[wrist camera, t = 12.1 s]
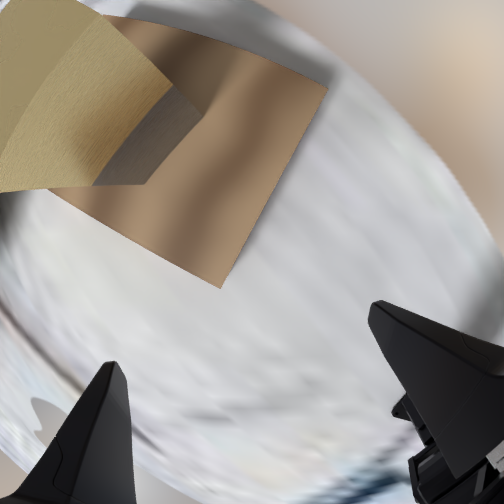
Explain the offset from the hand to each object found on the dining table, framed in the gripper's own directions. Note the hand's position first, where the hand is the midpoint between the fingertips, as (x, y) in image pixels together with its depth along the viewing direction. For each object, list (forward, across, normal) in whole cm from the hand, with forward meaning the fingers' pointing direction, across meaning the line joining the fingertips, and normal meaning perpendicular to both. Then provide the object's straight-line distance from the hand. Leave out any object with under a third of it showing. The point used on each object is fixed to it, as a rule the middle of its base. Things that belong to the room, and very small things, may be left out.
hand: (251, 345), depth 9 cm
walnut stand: (+15, +2, -6) cm, 16 cm away
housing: (+12, +3, -7) cm, 15 cm away
